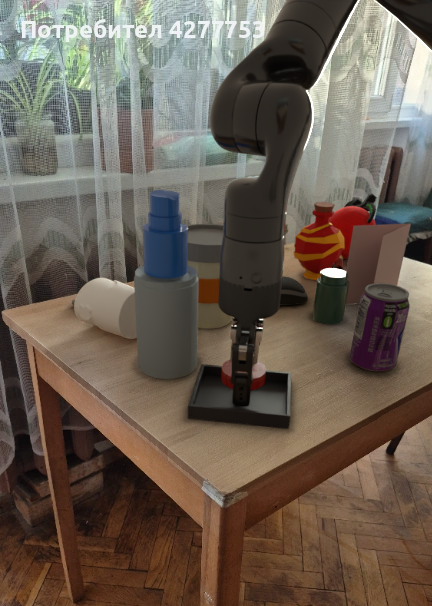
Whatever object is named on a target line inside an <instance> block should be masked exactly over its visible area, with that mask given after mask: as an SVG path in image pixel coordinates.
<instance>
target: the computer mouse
mask: <svg viewBox="0 0 432 606" xmlns="http://www.w3.org/2000/svg"><path fill="white" fill-rule="evenodd" d="M308 299H309V296H308V293H307V290H306V289H305V287H304V285H303V284H302V283H301V282H299V281H298V280H297V279H295V278H293V277H291V276H290V277H289V276H284V275H283V276H282V286H281V296H280V306H294V305H295V306H296V305H302V304H305V303H306V302H307V301H308Z"/></svg>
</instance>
